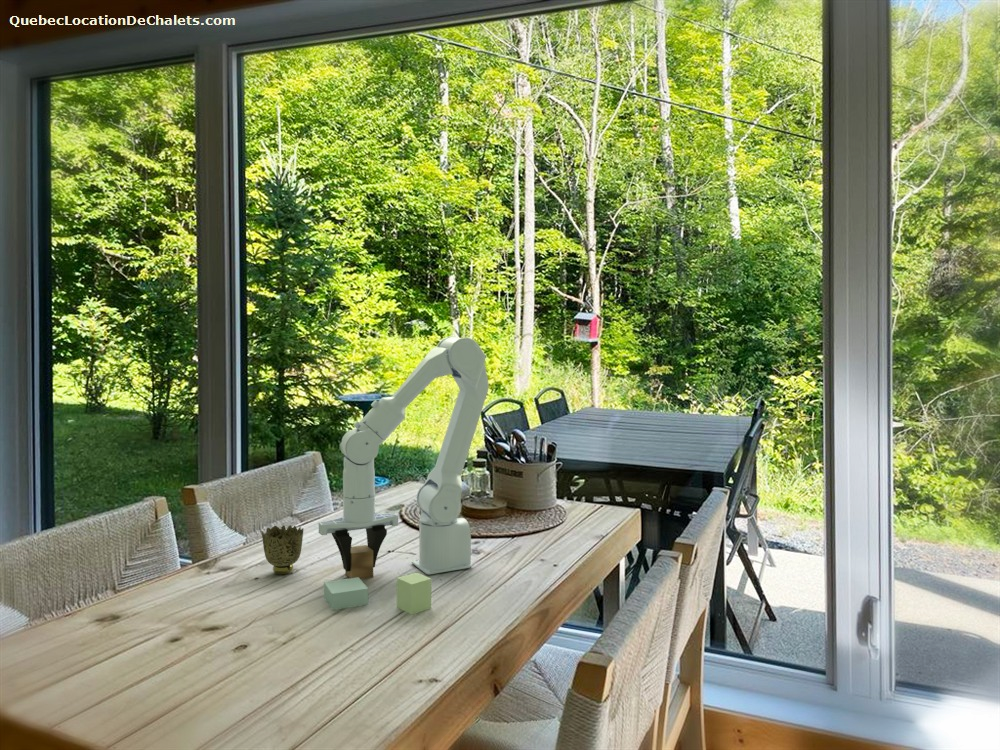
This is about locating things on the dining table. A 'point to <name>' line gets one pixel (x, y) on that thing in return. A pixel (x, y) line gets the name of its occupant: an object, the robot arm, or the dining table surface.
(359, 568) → the walnut block
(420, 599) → the sage block
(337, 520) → the robot arm
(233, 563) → the dining table surface
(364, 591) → the mint green base block
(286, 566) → the cup
